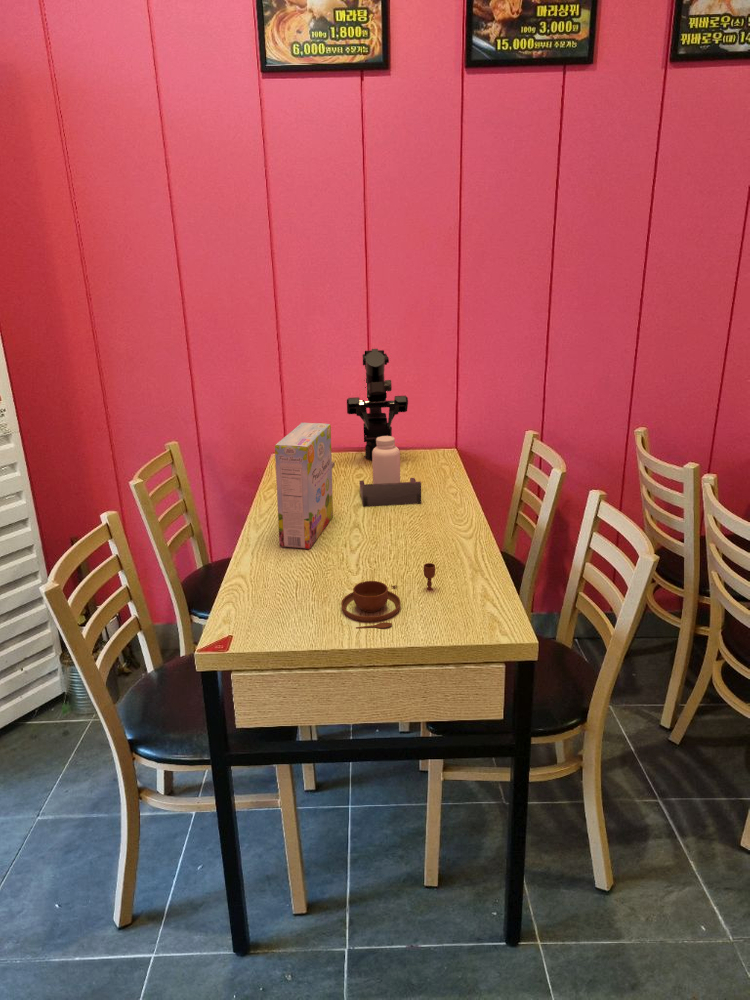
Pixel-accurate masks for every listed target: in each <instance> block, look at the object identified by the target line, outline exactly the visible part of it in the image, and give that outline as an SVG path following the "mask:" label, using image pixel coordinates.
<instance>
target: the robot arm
mask: <svg viewBox="0 0 750 1000" xmlns="http://www.w3.org/2000/svg"><path fill="white" fill-rule="evenodd" d="M389 361H390V358H389V356H388V354H387V353H385V350H384V349H382V350H381V349H378V348H371V350H364V353H363V354H362V366H364V369H365V379H366V383H367V386H366V387H367V398H368V401H364V400H363V399H362V400H361V399H360V397H359V396H358V397H357V396H356V397H348V398H347V399H346V414H348V415H356V416H357V417H360V419H361V420H362V421H363V442H364V443H365V444H366V445H365V446H364V447H365V455H363V458H364V459H367V460H369V461H372V451H373V449H374V448H375V447H377V444H376V439H377V438H378V437H381V436H392V437H393V435H392V433H393V431H392V430H393V429H392V423H393V419H394V418H395V416H396V415H399V413H406V412H408V406H409V400H408V399H409V398H408V396H407V395H394V399H393V400H386V398H387V395H388V394H387V393H386V391H387V392H391V391H392V380H391V379H385V365H386V366H387V365H388V364H389V363H390V362H389ZM382 408H383V409H384V408H388V418H387V414H386V413H385V412H383V411H382V410H383V409H382ZM367 409H369V413H368V411H367Z"/></svg>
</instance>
